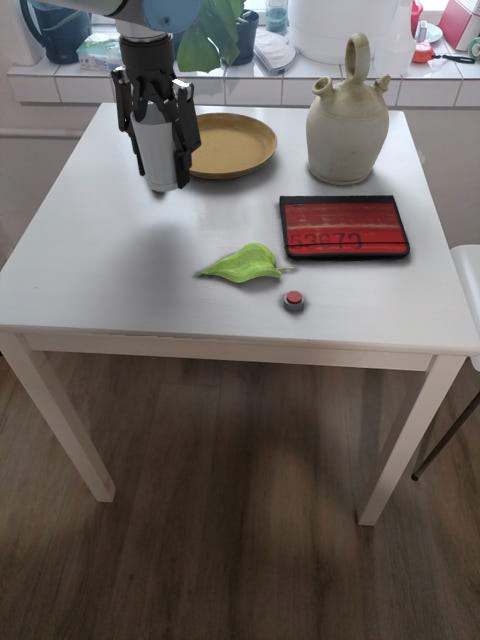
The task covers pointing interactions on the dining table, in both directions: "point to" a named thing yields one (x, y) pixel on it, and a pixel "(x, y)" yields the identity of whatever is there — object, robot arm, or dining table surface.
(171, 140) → the cup
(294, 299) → the push button
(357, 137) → the jug
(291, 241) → the notebook
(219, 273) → the leaf
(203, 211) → the dining table surface
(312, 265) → the dining table surface
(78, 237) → the dining table surface
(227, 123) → the plant saucer
